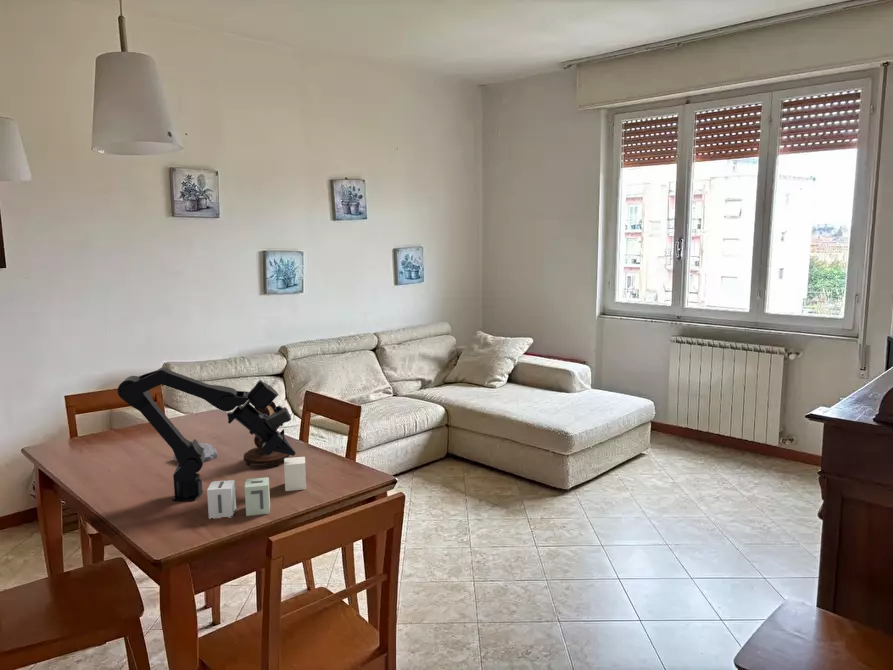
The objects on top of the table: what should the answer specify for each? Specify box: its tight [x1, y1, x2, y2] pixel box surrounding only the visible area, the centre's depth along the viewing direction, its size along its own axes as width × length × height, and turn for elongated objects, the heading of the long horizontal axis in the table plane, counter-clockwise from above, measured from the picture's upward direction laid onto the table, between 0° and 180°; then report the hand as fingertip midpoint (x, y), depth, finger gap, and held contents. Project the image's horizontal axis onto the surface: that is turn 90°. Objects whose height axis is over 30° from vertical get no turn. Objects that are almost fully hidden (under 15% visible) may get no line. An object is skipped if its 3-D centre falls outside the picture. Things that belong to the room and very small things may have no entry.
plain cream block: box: [283, 456, 307, 492], centre depth 191 cm, size 6×6×8 cm
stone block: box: [173, 442, 218, 462], centre depth 215 cm, size 12×5×10 cm
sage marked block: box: [244, 476, 271, 517], centre depth 174 cm, size 6×6×8 cm
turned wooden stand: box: [243, 400, 291, 467], centre depth 212 cm, size 15×15×20 cm
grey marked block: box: [206, 479, 237, 520], centre depth 172 cm, size 6×6×8 cm
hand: (294, 454), depth 190 cm, fingers closed
